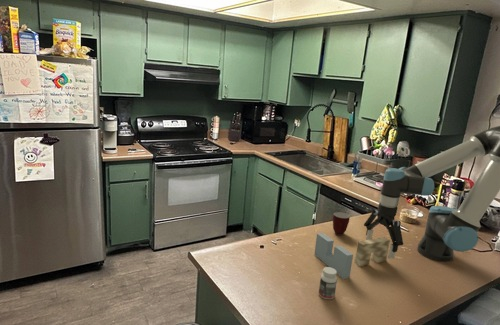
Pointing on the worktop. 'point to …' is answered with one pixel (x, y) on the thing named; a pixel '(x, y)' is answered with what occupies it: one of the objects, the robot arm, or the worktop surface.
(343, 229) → the mug
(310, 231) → the worktop surface
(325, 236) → the slate notched block
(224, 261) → the worktop surface
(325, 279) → the pill bottle
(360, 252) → the beige flat block
